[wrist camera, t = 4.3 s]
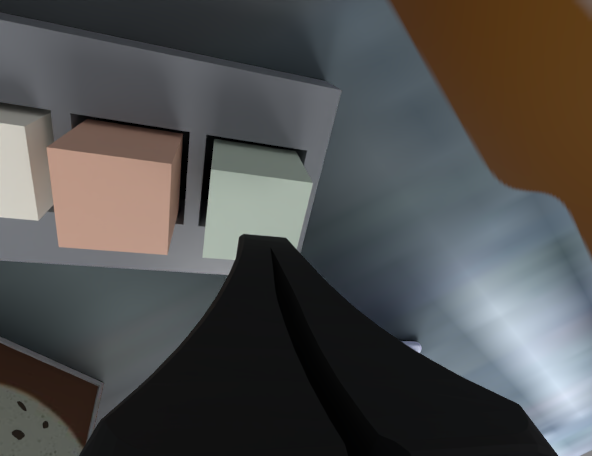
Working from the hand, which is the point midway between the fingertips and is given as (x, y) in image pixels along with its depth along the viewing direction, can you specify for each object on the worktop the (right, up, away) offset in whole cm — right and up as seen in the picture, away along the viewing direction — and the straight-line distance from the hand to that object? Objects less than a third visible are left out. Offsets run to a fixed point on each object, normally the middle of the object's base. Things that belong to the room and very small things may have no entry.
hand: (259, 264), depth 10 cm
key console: (-6, +4, +6) cm, 9 cm away
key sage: (-1, +3, +5) cm, 6 cm away
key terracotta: (-5, +4, +4) cm, 8 cm away
